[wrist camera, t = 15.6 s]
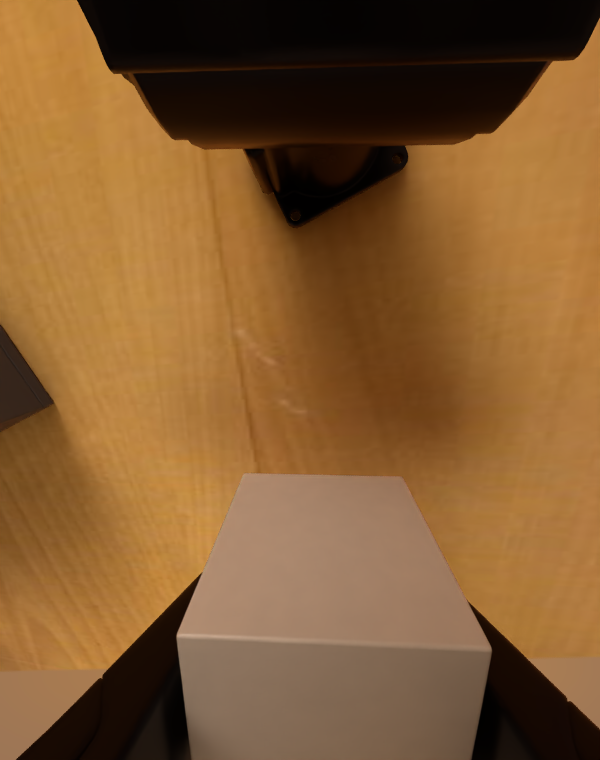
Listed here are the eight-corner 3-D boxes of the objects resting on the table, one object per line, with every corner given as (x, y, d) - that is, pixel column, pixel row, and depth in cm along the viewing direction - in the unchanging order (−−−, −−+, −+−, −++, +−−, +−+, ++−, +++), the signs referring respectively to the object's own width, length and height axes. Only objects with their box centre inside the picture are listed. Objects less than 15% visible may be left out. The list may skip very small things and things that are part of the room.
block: (402, 475, 8) (495, 650, 4) (391, 604, 9) (456, 850, 5) (243, 472, 9) (174, 635, 4) (249, 599, 10) (198, 832, 5)
